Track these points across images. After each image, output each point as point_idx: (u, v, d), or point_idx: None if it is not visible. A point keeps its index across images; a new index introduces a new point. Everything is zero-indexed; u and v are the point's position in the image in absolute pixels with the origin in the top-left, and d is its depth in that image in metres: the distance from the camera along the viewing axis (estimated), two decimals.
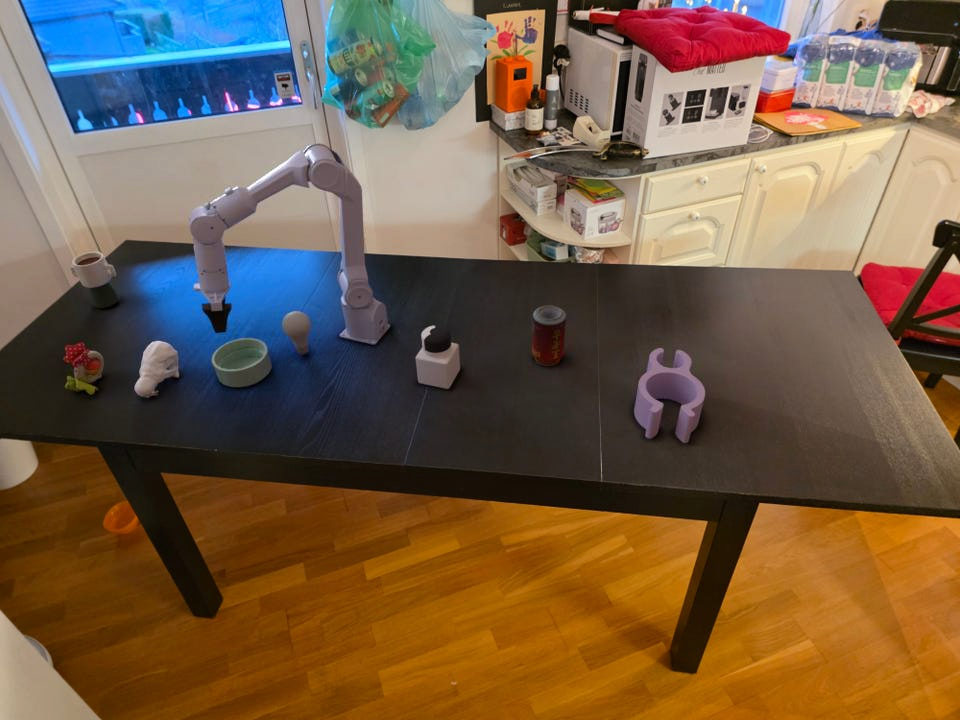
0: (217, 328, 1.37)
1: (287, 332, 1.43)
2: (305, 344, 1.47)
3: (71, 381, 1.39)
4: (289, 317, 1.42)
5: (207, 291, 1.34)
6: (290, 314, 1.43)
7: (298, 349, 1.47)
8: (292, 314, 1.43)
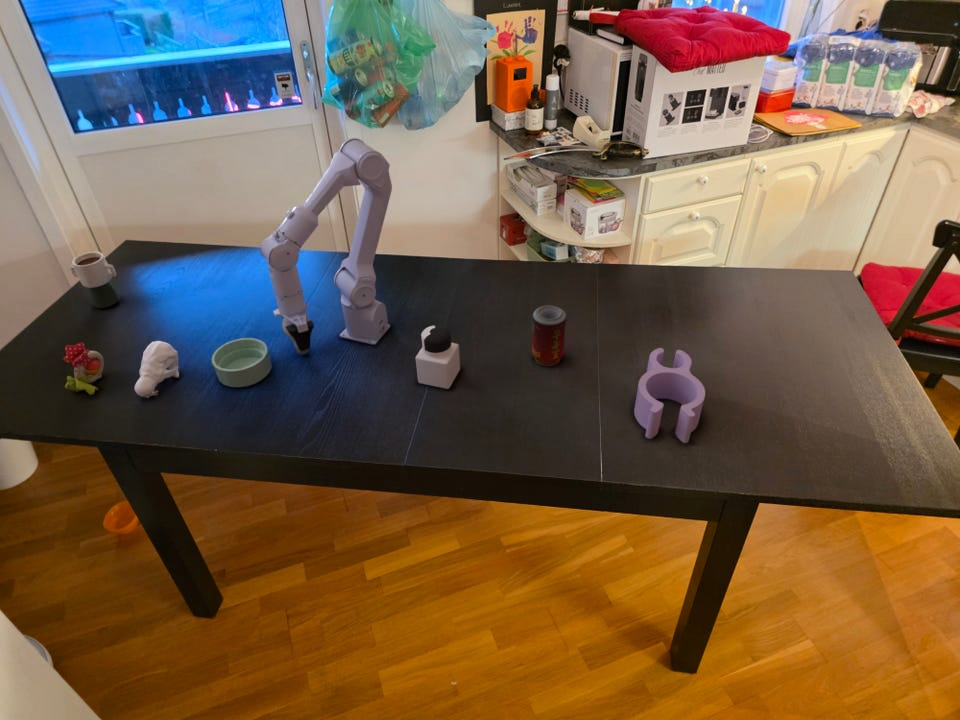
0: (302, 346, 1.44)
1: (287, 332, 1.43)
2: None
3: (71, 381, 1.39)
4: None
5: (288, 315, 1.40)
6: None
7: (298, 349, 1.47)
8: None
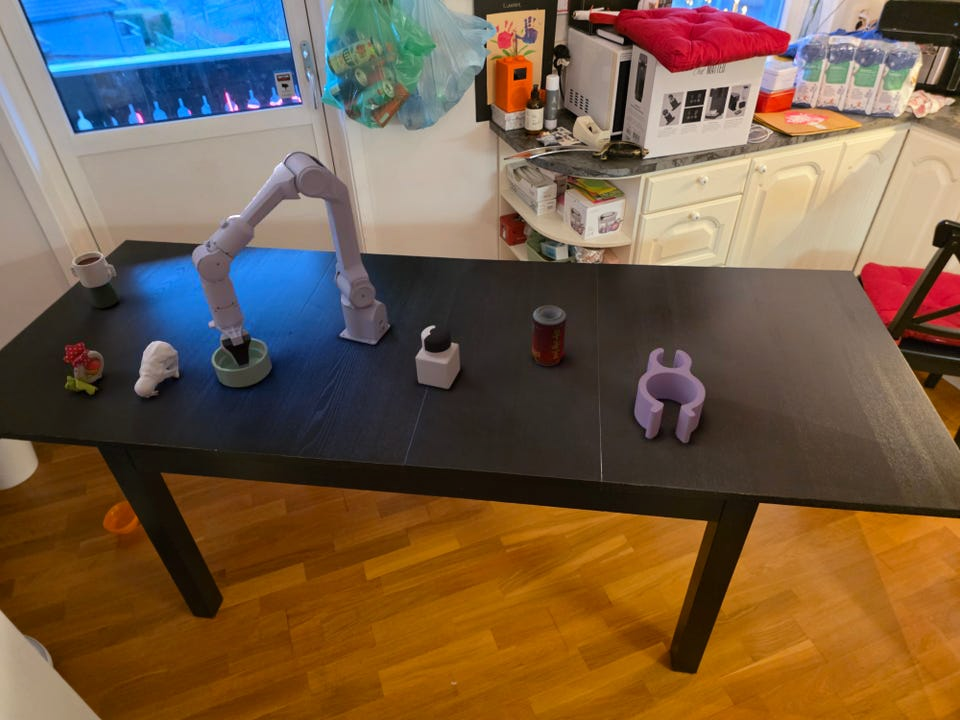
0: (240, 361, 1.38)
1: None
2: None
3: (71, 381, 1.39)
4: None
5: (223, 327, 1.34)
6: None
7: (238, 365, 1.42)
8: None
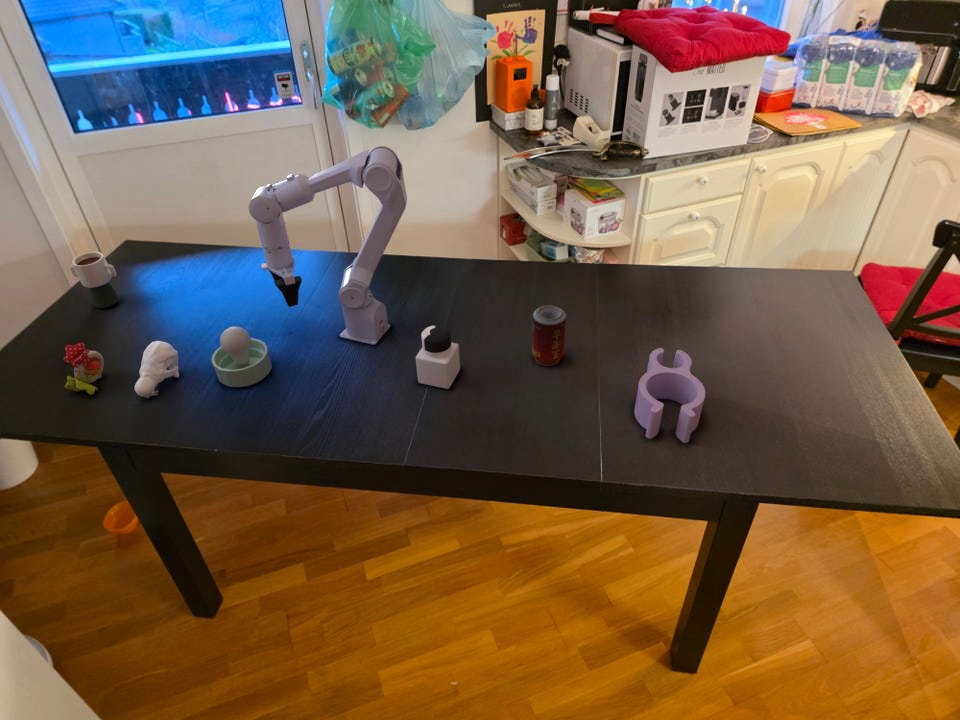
0: (290, 302, 1.45)
1: (225, 348, 1.38)
2: (245, 360, 1.42)
3: (71, 381, 1.39)
4: (226, 332, 1.37)
5: (276, 268, 1.41)
6: (228, 330, 1.38)
7: (238, 365, 1.42)
8: (230, 330, 1.38)
